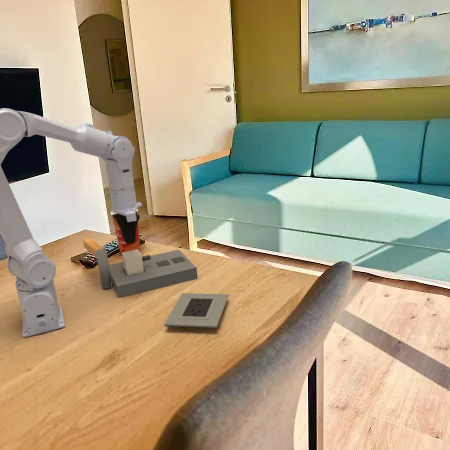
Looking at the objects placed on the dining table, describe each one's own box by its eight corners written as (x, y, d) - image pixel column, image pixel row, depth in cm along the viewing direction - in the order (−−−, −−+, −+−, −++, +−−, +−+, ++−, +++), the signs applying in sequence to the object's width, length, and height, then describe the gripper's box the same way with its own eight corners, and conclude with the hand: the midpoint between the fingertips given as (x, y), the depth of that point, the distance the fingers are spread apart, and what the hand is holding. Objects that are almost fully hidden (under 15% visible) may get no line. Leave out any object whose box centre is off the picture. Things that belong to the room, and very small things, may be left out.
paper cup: (114, 251, 130) (107, 206, 126) (140, 246, 133) (133, 201, 129) (120, 260, 123) (112, 212, 119) (146, 254, 126) (140, 207, 122)
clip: (113, 286, 107) (107, 250, 104) (104, 289, 105) (97, 253, 102) (97, 271, 116) (91, 237, 113) (88, 273, 115) (82, 240, 112)
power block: (197, 278, 109) (196, 266, 108) (118, 297, 101) (116, 285, 100) (180, 259, 121) (178, 249, 120) (108, 275, 114) (106, 264, 113)
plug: (154, 280, 109) (151, 252, 107) (129, 286, 107) (125, 257, 105) (150, 274, 113) (147, 247, 111) (126, 280, 111) (121, 252, 108)
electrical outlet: (217, 335, 84) (216, 324, 84) (165, 333, 86) (163, 322, 86) (229, 302, 97) (228, 293, 96) (183, 301, 99) (182, 291, 98)
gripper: (146, 191, 97) (153, 248, 101) (132, 179, 110) (139, 230, 114) (114, 196, 95) (123, 254, 99) (103, 184, 107) (112, 236, 112)
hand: (129, 242), depth 106 cm, fingers closed
